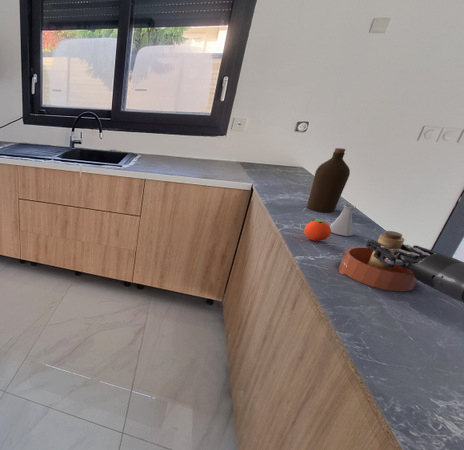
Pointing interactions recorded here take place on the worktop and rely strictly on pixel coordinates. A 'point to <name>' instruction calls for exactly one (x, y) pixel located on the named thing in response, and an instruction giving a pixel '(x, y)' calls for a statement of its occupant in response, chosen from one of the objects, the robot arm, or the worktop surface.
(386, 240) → the pepper mill
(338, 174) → the olive oil
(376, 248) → the robot arm
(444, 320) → the worktop surface
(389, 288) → the pot
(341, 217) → the flask
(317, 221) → the clementine
